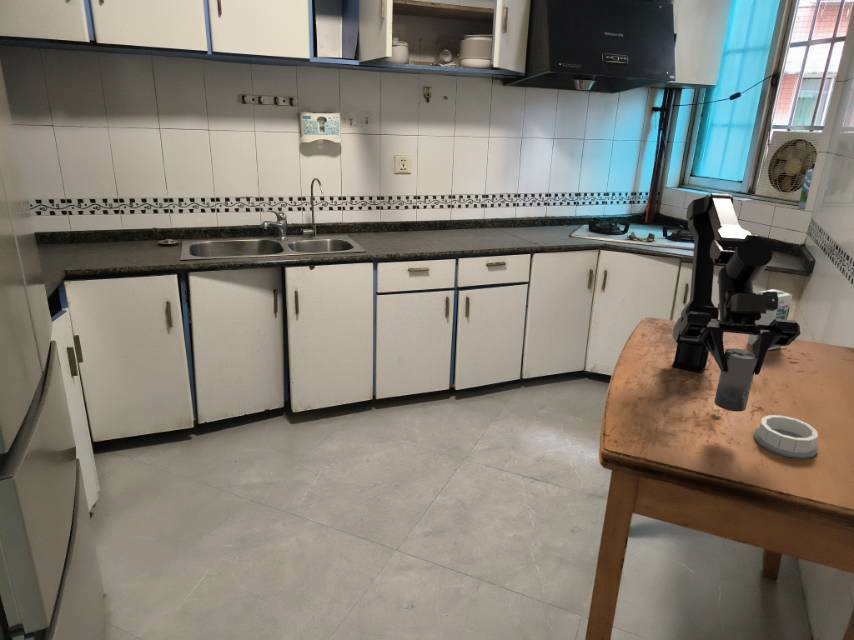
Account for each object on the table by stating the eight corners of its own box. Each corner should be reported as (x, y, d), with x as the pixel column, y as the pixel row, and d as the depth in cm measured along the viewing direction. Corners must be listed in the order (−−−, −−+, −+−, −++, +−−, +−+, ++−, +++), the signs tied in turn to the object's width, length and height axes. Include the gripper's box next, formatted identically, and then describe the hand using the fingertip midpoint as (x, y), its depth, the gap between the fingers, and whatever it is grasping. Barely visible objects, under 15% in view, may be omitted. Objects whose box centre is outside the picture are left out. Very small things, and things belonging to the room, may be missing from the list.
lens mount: (752, 447, 106) (756, 431, 105) (755, 424, 114) (758, 408, 113) (818, 464, 101) (822, 448, 100) (815, 438, 109) (820, 423, 108)
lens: (713, 406, 107) (724, 355, 103) (715, 395, 111) (726, 345, 108) (745, 414, 104) (757, 361, 101) (746, 402, 109) (758, 351, 105)
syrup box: (767, 351, 150) (780, 296, 145) (745, 343, 155) (757, 290, 150) (781, 347, 152) (794, 294, 147) (759, 340, 157) (772, 287, 152)
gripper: (694, 268, 105) (696, 349, 99) (810, 277, 101) (819, 361, 95) (678, 297, 115) (679, 372, 108) (783, 306, 111) (790, 384, 105)
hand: (740, 372), depth 104 cm, fingers closed on lens, 5 cm apart
